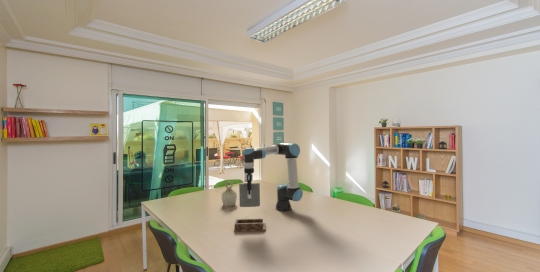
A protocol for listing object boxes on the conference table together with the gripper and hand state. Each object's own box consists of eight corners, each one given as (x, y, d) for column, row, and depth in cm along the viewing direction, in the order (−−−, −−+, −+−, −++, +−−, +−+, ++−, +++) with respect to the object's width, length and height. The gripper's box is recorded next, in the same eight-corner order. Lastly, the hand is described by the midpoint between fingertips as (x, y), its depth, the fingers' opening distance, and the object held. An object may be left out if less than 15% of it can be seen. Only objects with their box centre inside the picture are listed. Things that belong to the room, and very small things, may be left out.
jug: (233, 207, 233) (233, 182, 232) (219, 207, 236) (218, 182, 235) (238, 203, 248) (238, 179, 247) (225, 202, 251) (224, 179, 250)
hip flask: (260, 205, 184) (259, 179, 184) (260, 206, 180) (259, 180, 180) (239, 205, 184) (239, 180, 183) (239, 207, 179) (238, 181, 179)
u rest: (265, 224, 189) (265, 218, 189) (265, 231, 177) (265, 223, 177) (235, 225, 188) (235, 218, 188) (233, 231, 176) (233, 224, 176)
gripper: (245, 166, 190) (245, 194, 190) (243, 169, 173) (243, 200, 173) (254, 166, 190) (254, 194, 190) (253, 169, 173) (254, 200, 174)
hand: (249, 197), depth 182 cm, fingers closed on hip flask, 4 cm apart
